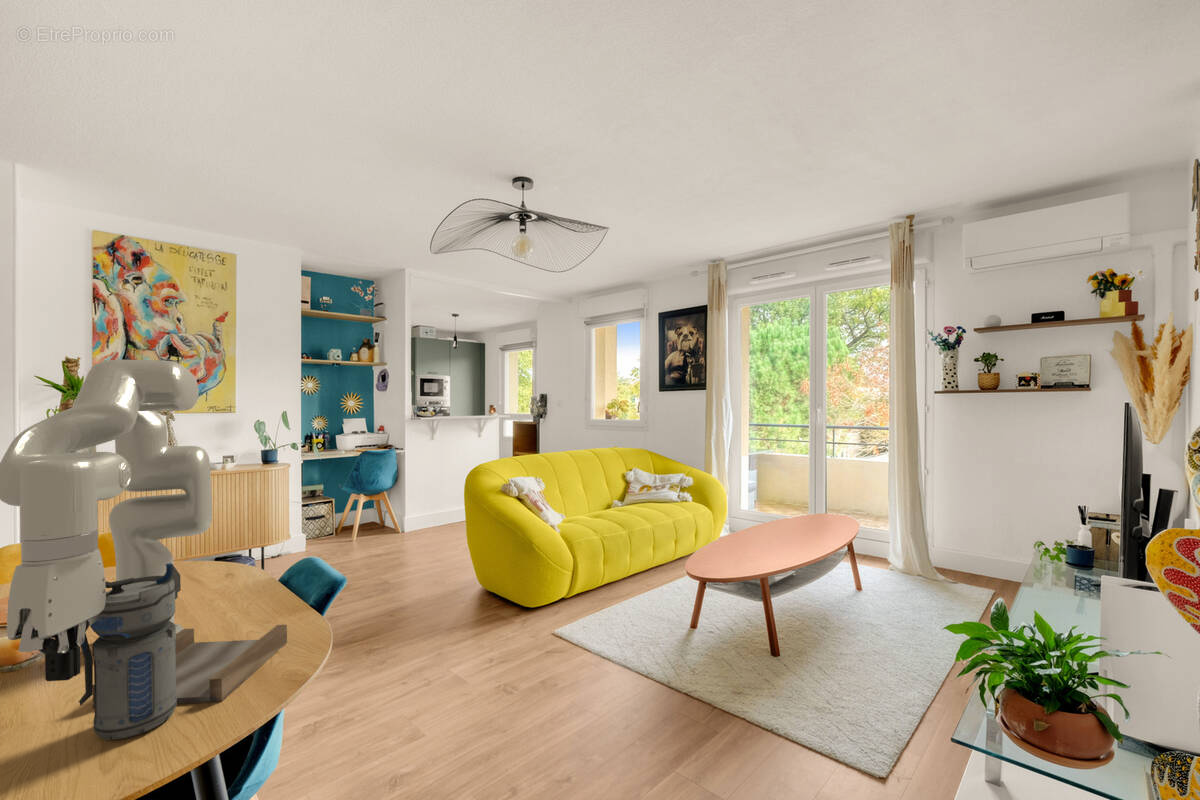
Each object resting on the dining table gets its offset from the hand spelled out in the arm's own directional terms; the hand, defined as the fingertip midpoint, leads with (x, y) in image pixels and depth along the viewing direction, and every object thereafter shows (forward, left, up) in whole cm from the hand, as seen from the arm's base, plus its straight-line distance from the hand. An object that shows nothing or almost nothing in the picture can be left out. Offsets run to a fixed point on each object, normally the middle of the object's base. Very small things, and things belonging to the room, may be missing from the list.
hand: (63, 677), depth 74 cm
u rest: (0, +28, -14) cm, 31 cm away
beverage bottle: (0, +11, -14) cm, 18 cm away
